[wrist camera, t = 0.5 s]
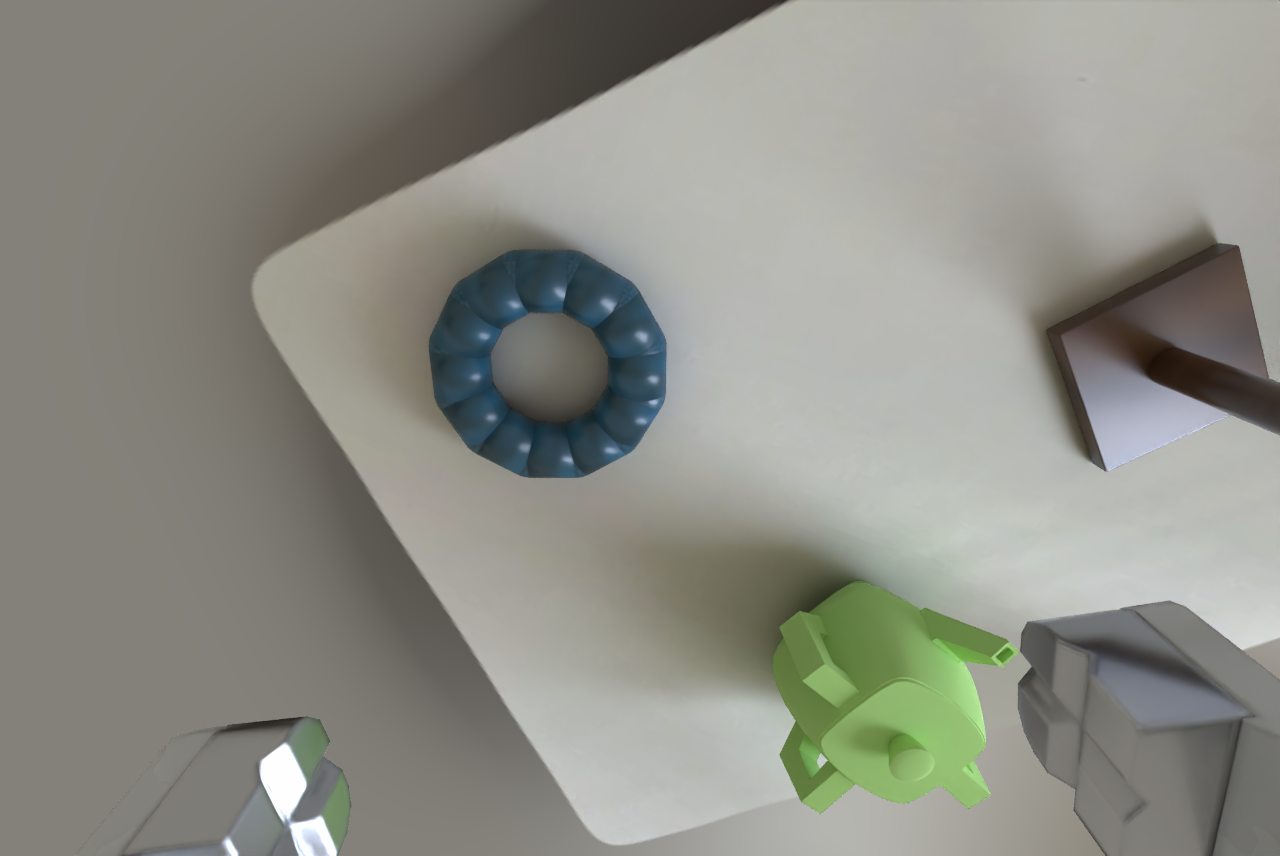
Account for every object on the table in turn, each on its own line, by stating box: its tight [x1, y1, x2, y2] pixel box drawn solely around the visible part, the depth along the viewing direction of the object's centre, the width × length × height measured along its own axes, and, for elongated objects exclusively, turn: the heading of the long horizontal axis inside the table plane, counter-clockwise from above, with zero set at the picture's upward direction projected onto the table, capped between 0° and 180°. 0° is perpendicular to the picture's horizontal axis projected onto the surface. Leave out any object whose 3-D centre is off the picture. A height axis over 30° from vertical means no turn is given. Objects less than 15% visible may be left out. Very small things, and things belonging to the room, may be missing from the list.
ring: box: [429, 250, 666, 478], centre depth 34 cm, size 12×12×3 cm
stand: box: [1047, 243, 1280, 471], centre depth 30 cm, size 9×9×12 cm
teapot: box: [772, 581, 1019, 814], centre depth 38 cm, size 12×12×10 cm
